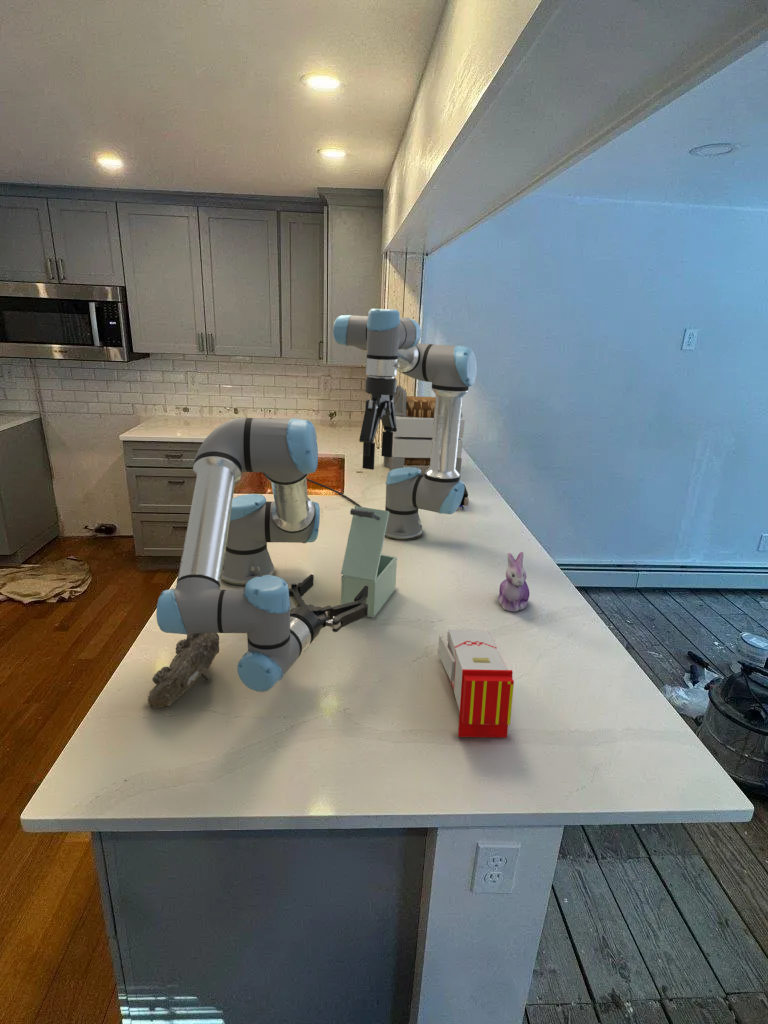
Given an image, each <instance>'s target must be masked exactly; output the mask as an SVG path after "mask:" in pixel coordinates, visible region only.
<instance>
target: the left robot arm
mask: <svg viewBox="0 0 768 1024" xmlns="http://www.w3.org/2000/svg"><path fill="white" fill-rule="evenodd" d="M317 439H318V437H317V431H316V427H315V426H314V424H313V422H312V421H310V419H309V420H308V419H303V418H302V419H301V418H300V419H299V418H297V417H292V418H272V417H271V418H270V417H269V418H268V417H266V418H265V417H243V416H242V417H236V418H232V419H229V420H227V421H225V422H223V423H221V424H220V425H218V426H217V427H216V428H214V429H213V430H212V431H211V432H210V433H209V434H208V435H207V436H206V438H205V439H204V441H202V443H201V445H200V446H199V448H198V450H197V452H196V455H195V457H194V462H193V467H192V473H193V475H194V477H195V478H196V479H195V484H194V490H193V494H192V501H191V506H190V510H189V516H188V521H187V525H186V526H187V527H186V531H185V536H184V542H183V545H182V546H183V547H182V552H181V556H180V557H181V558H180V564H179V568H178V573H177V578H176V585H175V588H171V589H165V590H163V591H162V592H161V593H160V595H159V597H158V598H157V603H156V612H155V614H156V615H155V617H156V622H157V626H158V628H159V630H160V631H162V632H163V633H165V634H174V635H175V634H178V635H186V636H187V635H188V634H194V633H217V634H246V635H247V639H246V640H247V652H245V653H244V654H243V655H242V657H241V659H240V660H239V661H238V663H237V666H236V671H237V674H238V678H239V679H240V681H241V683H242V684H243V685H244V686H245V687H247V688H248V689H250V690H252V691H255V692H258V693H259V692H260V693H263V692H264V693H265V692H268V691H269V690H271V689H272V688H273V687H274V686H275V685H276V684H277V683H278V682H279V681H281V680H283V678H284V676H285V675H286V673H287V672H288V671H289V670H290V668H291V667H293V665H294V664H295V663H296V662H297V660H298V659H299V658H300V656H301V655H302V654H303V653H304V652H305V651H306V649H307V648H308V647H309V645H311V644H312V643H313V642H314V640H316V638H317V637H318V636H319V634H320V633H321V630H322V629H324V628H326V627H328V628H332V629H331V630H332V632H333V633H337V632H339V631H340V630H341V629H342V628H344V627H346V626H348V625H350V624H353V623H355V622H357V621H359V620H362V619H364V618H366V617H367V615H368V604H366V601H367V597H368V586H364V588H363V589H362V590H361V591H360V592H359V593H358V595H357V596H356V597H355V598H354V602H350V603H346V604H342V605H341V604H338V605H334V606H331V605H326V606H319V605H318V606H317V605H313V604H310V603H309V604H306V602H305V600H304V599H303V598H302V597H303V596H304V595H305V594H306V593H307V592H309V590H311V588H313V587H314V586H315V585H314V584H315V583H314V577H315V576H314V574H309V575H308V576H307V577H305V579H303V581H302V582H298V583H297V584H296V583H291V584H290V588H289V585H288V583H287V582H286V580H285V579H283V578H282V577H280V576H277V575H274V574H275V565H274V563H273V561H272V558H271V555H270V553H269V550H268V543H289V544H290V543H294V544H296V543H299V544H300V543H302V544H307V543H315V542H316V540H317V539H318V537H319V529H320V521H321V520H320V517H321V508H320V507H321V506H320V503H318V502H317V501H313V500H311V499H310V497H309V494H308V493H309V492H308V481H307V480H306V478H307V477H308V475H310V474H314V473H316V471H317V469H318V465H319V464H318V462H319V447H318V441H317ZM242 473H262V474H263V476H264V477H265V478H266V479H267V480H268V481H269V482H270V485H271V490H272V495H273V500H274V501H273V500H272V501H267V498H266V496H265V495H263V494H258V493H249V494H242V495H238V496H235V497H234V493H235V486H236V484H238V483H239V481H240V480H241V477H242ZM222 581H223V582H225V583H227V584H230V585H233V586H244V589H221V585H222ZM290 598H291V600H292V602H293V605H294V607H293V608H291V602H290V601H291V600H290Z"/></svg>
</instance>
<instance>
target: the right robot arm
mask: <svg viewBox="0 0 768 1024" xmlns="http://www.w3.org/2000/svg"><path fill="white" fill-rule="evenodd" d="M332 335H333V338H334V341H335V342H336V343H337V344H338V345H341V346H346V347H350V346H351V347H355V348H357V349H358V350H361V351H364V352H365V353H366V357H365V374H366V376H367V377H365V388H364V390H365V393H367V394H370V395H371V398H370V399H366V400H365V408H364V414H363V420H362V425H361V430H360V434H359V443H363V444H362V469H364V470H365V469H366V470H372V471H374V470H375V457H376V454H375V453H376V442H374V441H375V438H376V434H377V431H378V428H379V423H380V421H381V424H382V427H383V431H382V432H381V433H382V435H381V457H384V456H385V457H392V447H393V432H396V431H397V428H396V426H397V425H396V417H395V408H394V394H395V393H396V388H397V386H398V385H397V382H398V379H397V378H396V377H397V375H398V372H399V373H401V374H403V375H405V376H407V377H409V378H412V379H414V380H417V381H420V382H427V383H431V391H433V393H434V394H435V397H436V399H435V411H434V423H433V434H432V446H431V458H430V466H428V468H427V469H426V470H424V474H422V470H421V468H419V467H415V466H411V467H410V466H406V467H405V466H404V468H397V469H393V470H391V471H390V470H389V471H388V473H387V475H386V480H385V481H386V482H385V504H384V505H385V507H384V508H385V509H384V511H389V517H388V522H387V527H386V532H385V538H387V539H389V540H395V541H410V540H415V539H418V538H420V537H421V536H422V535H423V525H422V524H421V523H422V521H421V518H420V515H419V510H423V511H427V512H434V513H437V514H440V515H442V514H444V515H453V514H454V513H456V512H457V510H458V509H459V508H460V507H459V505H460V503H461V501H462V498H463V494H464V489H465V487H466V486H465V487H464V485H465V482H464V481H462V480H460V481H459V477H460V478H461V474H459V473H458V472H457V471H456V461H457V450H458V440H459V430H460V420H461V418H462V417H461V412H462V409H463V408H462V407H463V399H464V396H465V395H466V394H467V393H468V392H469V389H470V388H471V387H473V386H474V385H475V383H476V378H477V373H478V367H477V366H478V365H477V358H476V355H475V353H474V351H473V349H472V348H471V347H468V346H462V345H451V344H450V345H449V344H436V343H435V344H434V343H433V344H432V343H420V341H421V337H422V329H421V326H420V324H419V323H418V321H416V320H415V319H413V318H410V317H401V313H400V311H399V310H398V309H395V308H394V309H393V308H392V309H391V308H390V309H389V308H371V309H369V310H368V312H367V315H353V314H343V315H342V314H341V315H339V316H337V317H336V318H335V320H334V322H333V328H332ZM306 480H307V482H308V483H309V482H310V483H312V484H315V485H317V486H319V487H321V488H325V489H327V490H329V491H332V492H333V493H335V494H338V495H339V496H341V497H343V498H345V499H346V500H347V501H350V502H351V503H352V504H354V505H355V506H359V507H362V505H360V504H359V503H358V502H356V501H355V500H354V499H352V498H350V497H348V496H347V495H345V494H343V493H342V492H340V491H338V490H336V489H333V488H331V487H329V486H327V485H324V484H322V483H319V482H317V481H315V480H312V479H310V478H307V477H306Z"/></svg>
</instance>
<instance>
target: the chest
mask: <svg viewBox="0 0 768 1024" xmlns="http://www.w3.org/2000/svg"><path fill="white" fill-rule="evenodd" d="M397 563H398V557H397V556H394V555H393V556H392V555H387V554H382V553H381V558H380V563H379V568H378V573H377V578H376V581H372V580H368V579H363V578H358V577H353V576H348V575H343V574H341V577H340V578H341V582H340V583H341V585H340V588H341V589H340V605H342V604H346V603H350V602H354V598H355V597H356V596H357V595H358V593H359V592H360V591H361V590H362V589H363V588H364V586H368V597H367V601H366V604H368V615H367V616H366V617H367V618H371V619H374V618H375V617H376V616H377V614H378V613H379V612H380V611H381V609H382V608H383V606H384V605H385V604H386V603H387V601H388V600H389V598H390V597H391V596H392V594H393V593H394V592H395V590H396V581H397Z"/></svg>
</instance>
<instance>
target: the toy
mask: <svg viewBox="0 0 768 1024" xmlns="http://www.w3.org/2000/svg"><path fill="white" fill-rule="evenodd" d="M446 640H447V643H446V641H445V639H444V636H443V635H442V634H439V637H438V646H437V656H438V657H439V659H440V661H441V663H442V666H443V668H444V670H445V672H446V674H447V677H448V679H449V681H450V684H451V687H452V690H453V693H454V697H455V701H456V705H457V708H458V711H459V714H458V715H459V716H458V730H457V731H458V732H457V737H458V738H508V731H509V726H510V725H511V717H512V707H513V697H514V696H513V695H514V684H515V680H514V679H513V673H514V671H513V670H512V669H508V667H507V665H506V662H505V661H504V659H503V658H502V655H501V653H500V651H499V649H498V647H497V643H496V639H495V637H494V635H493V634H491V632H490V631H489V629H467V628H466V629H465V628H463V629H461V628H460V629H459V628H448V630H447V639H446Z"/></svg>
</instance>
